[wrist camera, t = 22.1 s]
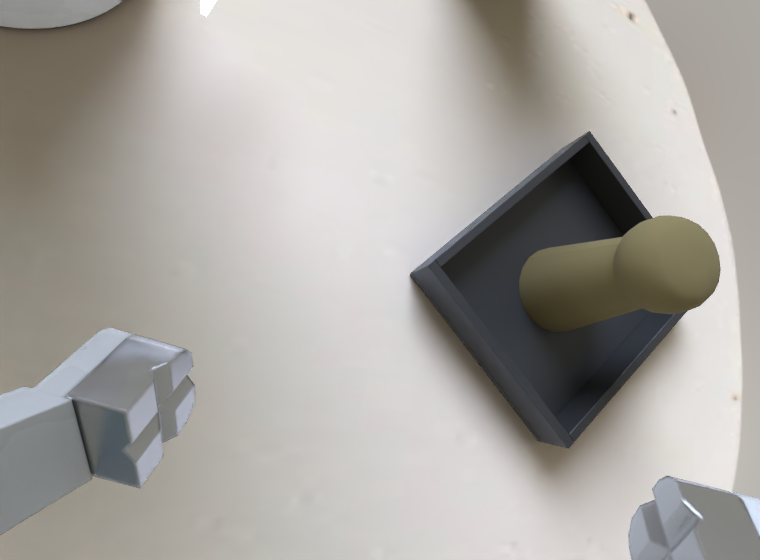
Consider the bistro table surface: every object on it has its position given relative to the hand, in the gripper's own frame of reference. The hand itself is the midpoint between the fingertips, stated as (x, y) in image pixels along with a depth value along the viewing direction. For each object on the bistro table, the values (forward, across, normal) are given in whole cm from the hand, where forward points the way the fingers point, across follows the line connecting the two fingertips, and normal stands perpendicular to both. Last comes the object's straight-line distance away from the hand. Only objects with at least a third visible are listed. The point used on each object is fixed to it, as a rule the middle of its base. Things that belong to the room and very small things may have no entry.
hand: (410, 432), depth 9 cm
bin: (+26, -8, +11) cm, 29 cm away
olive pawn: (+26, -8, +11) cm, 29 cm away
